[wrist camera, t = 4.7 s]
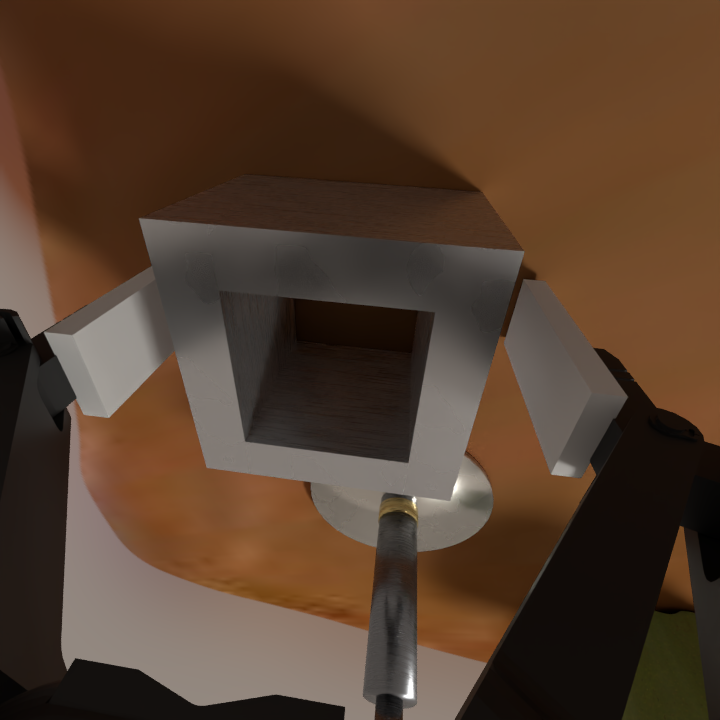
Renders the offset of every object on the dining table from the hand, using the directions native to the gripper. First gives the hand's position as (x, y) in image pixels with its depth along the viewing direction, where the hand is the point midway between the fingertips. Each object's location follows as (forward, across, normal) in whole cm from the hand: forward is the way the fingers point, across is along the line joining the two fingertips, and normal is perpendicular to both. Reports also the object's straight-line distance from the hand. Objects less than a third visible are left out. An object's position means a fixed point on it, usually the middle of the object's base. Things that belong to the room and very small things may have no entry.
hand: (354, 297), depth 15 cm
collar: (0, 0, 0) cm, 0 cm away
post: (0, +3, -12) cm, 12 cm away
